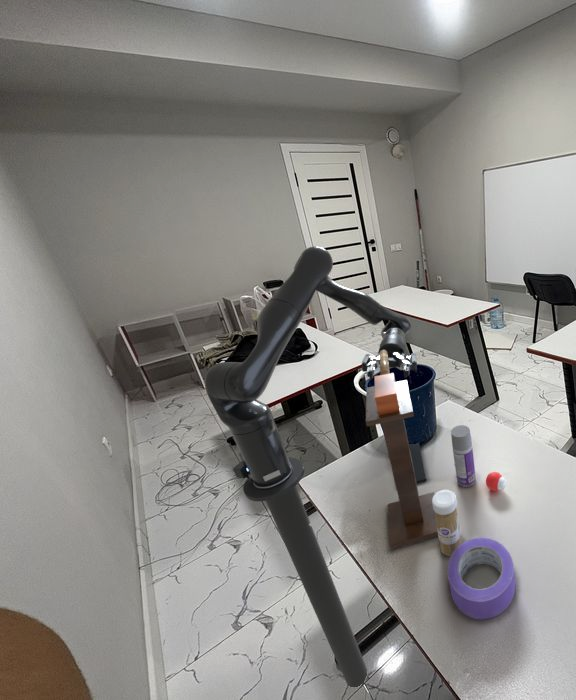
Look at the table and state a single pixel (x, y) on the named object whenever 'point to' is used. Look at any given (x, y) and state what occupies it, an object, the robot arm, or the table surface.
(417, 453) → the drying mat
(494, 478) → the molecule
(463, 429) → the container
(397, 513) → the wooden pedestal stand
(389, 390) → the copper block with handle
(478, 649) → the table surface
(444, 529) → the sprinkles bottle
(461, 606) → the tape roll
